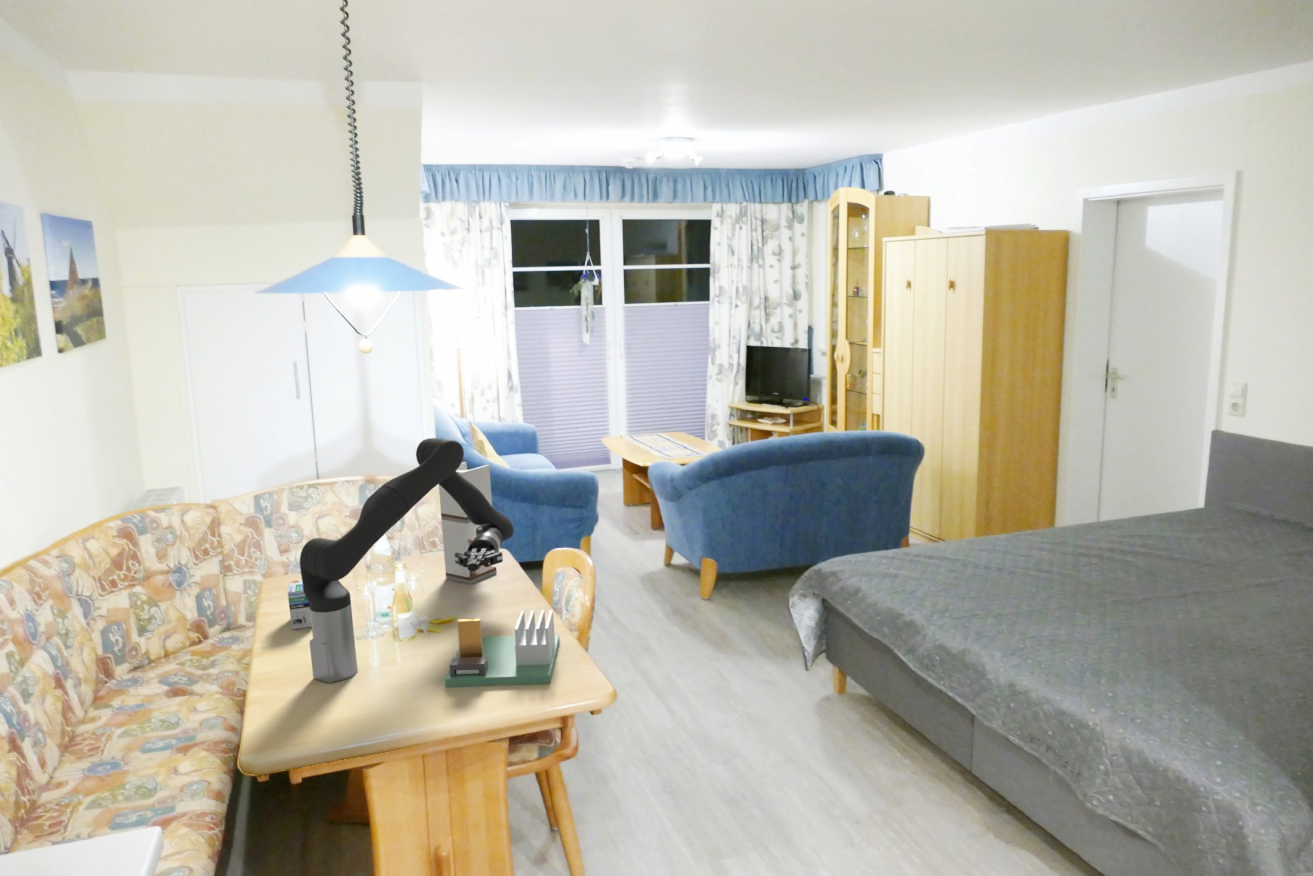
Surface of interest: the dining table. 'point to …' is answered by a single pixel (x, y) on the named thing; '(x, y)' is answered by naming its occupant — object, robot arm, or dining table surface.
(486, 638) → the heatsink board
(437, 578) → the dining table surface
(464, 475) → the notched white tower
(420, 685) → the dining table surface
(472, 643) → the upright wooden plank
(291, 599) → the light bulb box
